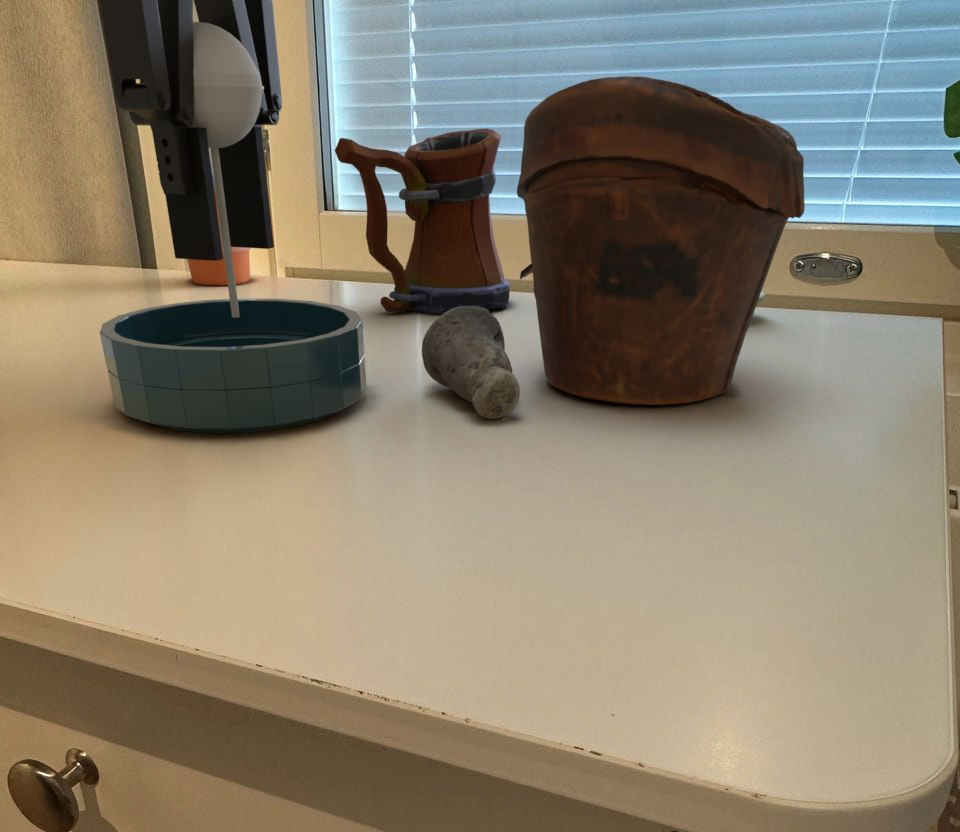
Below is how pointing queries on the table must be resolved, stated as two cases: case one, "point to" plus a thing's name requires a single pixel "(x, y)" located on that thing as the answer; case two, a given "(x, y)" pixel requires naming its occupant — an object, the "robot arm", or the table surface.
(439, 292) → the mug
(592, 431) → the table surface
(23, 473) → the table surface
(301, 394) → the bowl
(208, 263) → the cup with straw
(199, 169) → the robot arm
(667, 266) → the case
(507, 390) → the stone
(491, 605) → the table surface
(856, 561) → the table surface
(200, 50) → the lollipop
